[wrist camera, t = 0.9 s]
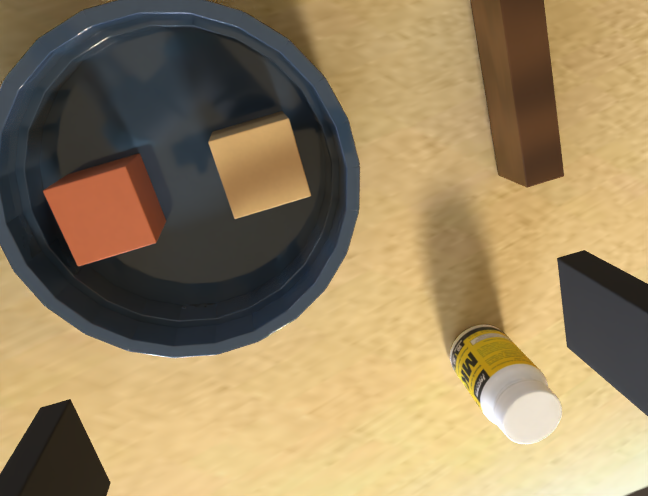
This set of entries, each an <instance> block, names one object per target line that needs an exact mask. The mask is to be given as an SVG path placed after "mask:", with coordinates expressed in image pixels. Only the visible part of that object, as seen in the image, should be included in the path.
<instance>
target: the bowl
mask: <svg viewBox="0 0 648 496" xmlns="http://www.w3.org/2000/svg"><path fill="white" fill-rule="evenodd" d="M281 111H283V112H284V114H285V115H286V116H287V117H288V118H289V120H290V123H291V127H292V130H293V134H294V137H295V141H296V144H297V148H298V151H299V155H300V158H301V162H302V165H303V169H304V172H305V176H306V179H307V183H308V186H309V190H310V193H311V196H310V197H307V198H303V199H300V200H297V201H293V202H290V203H287V204H283V205H280V206H277V207H274V208H270V209H267V210H264V211H260V212H257V213H254V214H250V215H247V216H244V217H241V218H237V219H235V218H234V216H233V213H232V210H231V207H230V204H229V201H228V199H227V196H226V193H225V190H224V187H223V184H222V181H221V178H220V175H219V172H218V169H217V167H216V164H215V161H214V158H213V155H212V152H211V149H210V146H209V143H208V142H209V139H210V136H211V134H212V132H213V131H217V130H220V129H223V128H227V127H230V126H234V125H237V124H240V123H244V122H247V121H251V120H254V119H257V118H261V117H264V116H268V115H271V114H274V113H278V112H281ZM135 154H140V155H141V157H142V160H143V163H144V165H145V168H146V170H147V173H148V175H149V178H150V181H151V183H152V186H153V188H154V191H155V193H156V196H157V198H158V201H159V204H160V206H161V209H162V211H163V214H164V216H165V219H166V223H165V225H164V227H163V229H162V231H161V234H160V236H159V238H158V240H157V242H156V243H155V244H151V245H148V246H145V247H141V248H138V249H135V250H131V251H128V252H125V253H122V254H118V255H115V256H112V257H108V258H105V259H102V260H98V261H95V262H92V263H89V264H85V265H82V266H77V264H76V261H75V259H74V257H73V255H72V253H71V251H70V249H69V246H68V244H67V242H66V240H65V238H64V236H63V234H62V231H61V229H60V227H59V225H58V223H57V221H56V218H55V216H54V214H53V212H52V210H51V208H50V206H49V203H48V201H47V199H46V197H45V195H44V193H43V190H44V189H46V188H48V187H49V186H51V185H52V184H54V183H55V182H57V181H58V180H60V179H61V178H63V177H65V176H66V175H68V174H71V173H74V172H77V171H81V170H84V169H88V168H91V167H94V166H98V165H101V164H105V163H108V162H111V161H115V160H118V159H122V158H125V157H128V156H132V155H135ZM359 165H360V163H359V159H358V155H357V151H356V147H355V143H354V139H353V135H352V131H351V127H350V123H349V121H348V118H347V116H346V114H345V112H344V110H343V108H342V107H341V105H340V103H339V101H338V99H337V98H336V96H335V94H334V92H333V90H332V89H331V87H330V85H329V83H328V81H327V79H326V78H325V77H324V75H323V74H322V73H321V72H320V71H319V70H318V69H317V68H316V67H315V66H314V65H313V64H312V63H311V62H310V61H309V59H308V58H307V57H306V56H305V55H304V54H303V53H302V52H301V51H300V50H299V49H298V48H297V47H296V46H295V45H294V44H293V43H292V42H291V41H290V40H289V39H288V38H286V37H285V36H283V35H282V34H280V33H278V32H277V31H275V30H273V29H272V28H270V27H268V26H267V25H265V24H264V23H262V22H260V21H259V20H257V19H255V18H254V17H252V16H250V15H249V14H247V13H246V12H243V11H241V10H238V9H234V8H231V7H227V6H224V5H221V4H217V3H214V2H210V1H207V0H116V1H112V2H109V3H105V4H102V5H98V6H95V7H91V8H87V9H84V10H82V11H80V12H78V13H77V14H75V15H74V16H72V17H71V18H69V19H68V20H66V21H64V22H63V23H61V24H60V25H58V26H57V27H55V28H53V29H52V30H50V31H49V32H47V33H46V34H44V35H43V36H41V37H39V38H38V39H37V40H36V41H35V42H34V44H33V45H32V46H31V47H30V48H29V50H28V51H27V52H26V53H25V54H24V56H23V57H22V58H21V59H20V60H19V62H18V63H17V64H16V65H15V66H14V68H13V69H12V70H11V71H10V72H9V74H8V75H7V76H6V77H5V80H4V81H3V83H2V85H1V88H0V246H1V248H2V250H3V251H4V253H5V255H6V257H7V259H8V261H9V263H10V265H11V267H12V269H13V270H14V272H15V273H16V274H17V275H18V277H19V278H20V279H21V280H22V281H23V282H24V283H25V284H26V286H27V287H28V288H29V289H30V290H31V291H32V292H33V293H34V295H35V296H36V297H37V298H38V299H39V300H40V301H41V302H42V304H43V305H44V306H46V307H47V308H48V309H49V310H51V311H52V312H54V313H55V314H57V315H58V316H60V317H61V318H62V319H64V320H65V321H67V322H68V323H70V324H71V325H73V326H74V327H75V328H77V329H78V330H80V331H81V332H83V333H85V334H86V335H88V336H91V337H93V338H96V339H99V340H101V341H104V342H106V343H109V344H111V345H114V346H116V347H119V348H121V349H124V350H126V351H130V352H137V353H143V354H150V355H157V356H163V357H170V358H180V357H193V356H206V355H217V354H221V353H224V352H228V351H231V350H234V349H237V348H240V347H243V346H247V345H250V344H253V343H256V342H259V341H261V340H262V339H264V338H266V337H267V336H269V335H271V334H272V333H274V332H276V331H277V330H279V329H281V328H282V327H284V326H286V325H287V324H289V323H291V322H292V321H294V320H295V319H297V318H298V317H299V316H300V315H301V314H302V313H303V312H304V311H305V310H306V309H307V308H308V307H309V306H310V305H311V304H312V303H313V302H314V301H315V300H316V299H317V298H318V297H319V296H320V295H321V294H322V293H323V292H324V291H325V289H326V288H327V286H328V285H329V283H330V281H331V280H332V278H333V276H334V275H335V273H336V271H337V270H338V268H339V266H340V264H341V263H342V261H343V259H344V258H345V256H346V254H347V251H348V249H349V245H350V242H351V238H352V235H353V231H354V228H355V224H356V221H357V217H358V213H359V211H358V210H359V200H360V166H359Z"/></svg>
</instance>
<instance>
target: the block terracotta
mask: <svg viewBox="0 0 648 496" xmlns="http://www.w3.org/2000/svg"><path fill="white" fill-rule="evenodd" d="M43 193H44V195H45V197H46V199H47V201H48V203H49V206H50V208H51V210H52V212H53V214H54V216H55V218H56V221H57V223H58V225H59V227H60V229H61V231H62V234H63V236H64V238H65V240H66V242H67V244H68V246H69V249H70V251H71V253H72V255H73V257H74V259H75V261H76V264H77V266H82V265H85V264H89V263H92V262H95V261H98V260H102V259H105V258H108V257H112V256H115V255H118V254H122V253H125V252H128V251H131V250H135V249H138V248H141V247H145V246H148V245H151V244H155V243H156V242H157V240H158V238H159V236H160V234H161V231H162V229H163V227H164V225H165V223H166V219H165V216H164V214H163V211H162V209H161V206H160V204H159V201H158V198H157V196H156V193H155V191H154V188H153V186H152V183H151V181H150V178H149V175H148V173H147V170H146V168H145V165H144V163H143V160H142V157H141V155H140V154H135V155H132V156H128V157H125V158H122V159H118V160H115V161H111V162H108V163H105V164H101V165H98V166H94V167H91V168H88V169H84V170H81V171H77V172H74V173H71V174H68V175H66V176H65V177H63V178H61V179H60V180H58V181H57V182H55V183H54V184H52V185H51V186H49V187H48V188H46V189H44V190H43Z"/></svg>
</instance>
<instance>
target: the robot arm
mask: <svg viewBox="0 0 648 496" xmlns="http://www.w3.org/2000/svg"><path fill="white" fill-rule="evenodd" d="M557 260H558V269H559V278H560V287H561V296H562V305H563V314H564V323H565V332H566V342H567V347H568V348H569V349H570V350H571V351H573V352H574V353H575V354H576V355H577V356H578V357H580V358H581V359H582V360H583V361H584V362H585V363H587V364H588V365H589V366H590V367H591V368H592V369H594V370H595V371H596V372H597V373H598V374H599V375H600V376H602V377H603V378H604V379H605V380H606V381H607V382H609V383H610V384H611V385H612V386H613V387H614V388H616V389H617V390H618V391H619V392H620V393H621V394H623V395H624V396H625V397H626V398H627V399H628V400H630V401H631V402H632V403H633V404H634V405H635V406H637V407H638V408H639V409H640V410H641V411H642V412H644V413H645V414H646V415H647V416H648V284H647V283H645V282H643V281H641V280H639V279H638V278H636V277H634V276H632V275H630V274H628V273H626V272H624V271H622V270H621V269H619V268H617V267H615V266H613V265H611V264H609V263H607V262H606V261H604V260H602V259H600V258H598V257H596V256H594V255H592V254H590V253H589V252H587V251H585V250H583V251H580V252H577V253H573V254H570V255H566V256H563V257H559V258H557ZM109 486H110V481H109V479H108V477H107V475H106V473H105V470H104V468H103V466H102V464H101V462H100V460H99V458H98V456H97V454H96V452H95V450H94V447H93V445H92V443H91V441H90V439H89V437H88V435H87V433H86V431H85V429H84V427H83V424H82V422H81V420H80V418H79V416H78V414H77V412H76V410H75V408H74V406H73V404H72V402H71V399H69V400H66V401H62V402H59V403H55V404H52V405H48V406H45V407H41V408H40V409H39V411H38V413H37V414H36V416H35V418H34V419H33V421H32V423H31V424H30V426H29V428H28V429H27V431H26V433H25V434H24V436H23V437H22V439H21V441H20V442H19V444H18V446H17V447H16V449H15V451H14V452H13V454H12V456H11V457H10V459H9V460H8V462H7V464H6V465H5V467H4V469H3V470H2V472H1V474H0V496H106V495H107V492H108V489H109Z"/></svg>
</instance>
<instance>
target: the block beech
mask: <svg viewBox="0 0 648 496" xmlns="http://www.w3.org/2000/svg"><path fill="white" fill-rule="evenodd" d="M208 143H209V146H210V149H211V152H212V155H213V158H214V161H215V164H216V167H217V169H218V172H219V175H220V178H221V181H222V184H223V187H224V190H225V193H226V196H227V199H228V201H229V204H230V207H231V210H232V213H233V216H234V218H235V219H237V218H241V217H244V216H247V215H250V214H254V213H257V212H260V211H264V210H267V209H270V208H274V207H277V206H280V205H283V204H287V203H290V202H293V201H297V200H300V199H303V198H307V197H310V196H311V193H310V190H309V186H308V183H307V179H306V176H305V172H304V169H303V165H302V162H301V158H300V155H299V151H298V148H297V144H296V141H295V137H294V134H293V130H292V127H291V123H290V120H289V118H288V117H287V116H286V115H285V114H284V112H283V111H281V112H278V113H274V114H271V115H268V116H264V117H261V118H257V119H254V120H251V121H247V122H244V123H240V124H237V125H234V126H230V127H227V128H223V129H220V130H217V131H213V132H212V134H211V136H210V139H209V142H208Z"/></svg>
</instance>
